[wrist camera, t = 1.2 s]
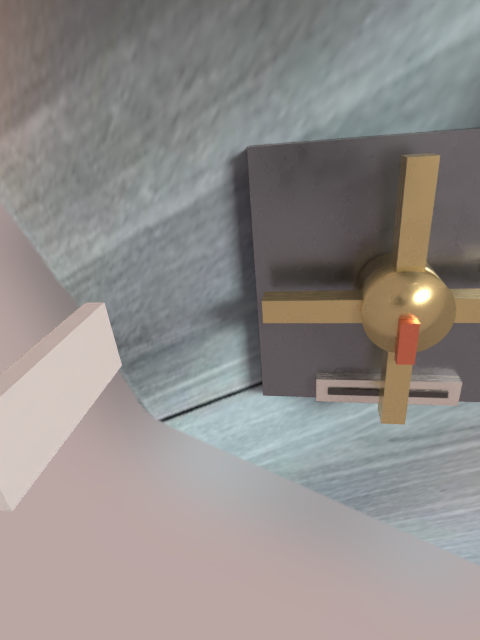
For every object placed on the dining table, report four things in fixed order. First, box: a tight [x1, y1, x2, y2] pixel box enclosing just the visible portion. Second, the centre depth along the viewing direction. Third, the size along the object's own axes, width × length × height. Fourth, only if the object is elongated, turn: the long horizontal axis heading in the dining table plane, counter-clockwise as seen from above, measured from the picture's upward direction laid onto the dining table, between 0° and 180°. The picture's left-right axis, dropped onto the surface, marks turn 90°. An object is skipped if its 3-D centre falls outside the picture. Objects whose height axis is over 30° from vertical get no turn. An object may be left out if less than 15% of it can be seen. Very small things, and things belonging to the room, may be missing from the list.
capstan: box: [262, 153, 480, 424], centre depth 29 cm, size 20×20×6 cm
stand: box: [247, 128, 480, 406], centre depth 32 cm, size 22×22×4 cm
